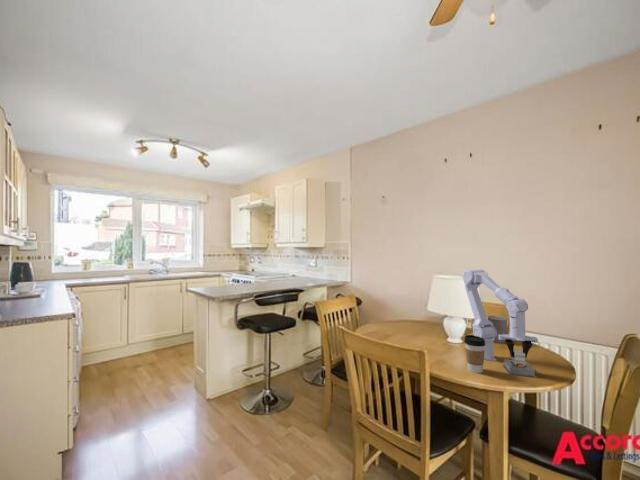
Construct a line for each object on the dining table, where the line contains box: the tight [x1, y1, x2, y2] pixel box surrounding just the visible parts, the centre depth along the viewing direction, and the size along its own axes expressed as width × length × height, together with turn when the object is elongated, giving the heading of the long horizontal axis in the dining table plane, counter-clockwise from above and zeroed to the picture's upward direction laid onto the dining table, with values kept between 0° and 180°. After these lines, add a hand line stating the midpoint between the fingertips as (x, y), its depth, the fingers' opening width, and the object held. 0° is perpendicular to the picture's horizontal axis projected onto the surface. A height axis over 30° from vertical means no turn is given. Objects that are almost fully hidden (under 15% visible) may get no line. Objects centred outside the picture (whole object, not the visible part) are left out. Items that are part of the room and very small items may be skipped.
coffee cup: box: [463, 334, 485, 374], centre depth 129 cm, size 8×8×15 cm
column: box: [510, 348, 527, 367], centre depth 127 cm, size 4×4×7 cm
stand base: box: [502, 358, 538, 378], centre depth 127 cm, size 10×10×4 cm
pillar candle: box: [487, 315, 508, 344], centre depth 168 cm, size 10×10×15 cm
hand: (518, 357), depth 127 cm, fingers closed on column, 4 cm apart
